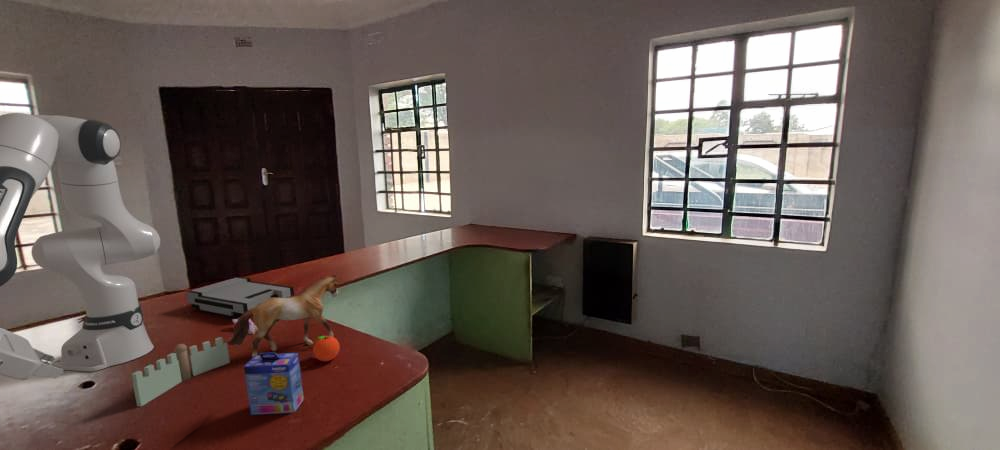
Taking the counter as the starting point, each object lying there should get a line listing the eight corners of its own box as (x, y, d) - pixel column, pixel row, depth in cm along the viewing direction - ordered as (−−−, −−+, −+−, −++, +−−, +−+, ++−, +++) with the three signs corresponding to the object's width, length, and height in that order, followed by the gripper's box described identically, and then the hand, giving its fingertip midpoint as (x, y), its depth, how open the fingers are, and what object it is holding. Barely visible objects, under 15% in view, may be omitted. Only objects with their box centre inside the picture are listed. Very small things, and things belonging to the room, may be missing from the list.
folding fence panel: (178, 381, 102) (173, 352, 100) (181, 381, 101) (177, 352, 100) (137, 406, 91) (131, 374, 90) (141, 406, 91) (135, 374, 90)
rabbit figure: (268, 336, 133) (245, 320, 140) (267, 320, 131) (244, 305, 139) (248, 343, 128) (226, 326, 135) (247, 327, 126) (225, 310, 134)
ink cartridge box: (248, 416, 88) (240, 356, 86) (261, 401, 94) (253, 344, 91) (294, 413, 89) (287, 353, 87) (304, 398, 94) (298, 342, 92)
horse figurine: (343, 332, 131) (337, 272, 127) (348, 341, 124) (342, 278, 121) (230, 360, 114) (220, 292, 110) (229, 372, 107) (219, 300, 104)
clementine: (305, 363, 111) (303, 339, 110) (324, 351, 118) (322, 329, 117) (328, 367, 109) (325, 343, 107) (345, 355, 115) (343, 332, 114)
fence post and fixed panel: (181, 382, 101) (175, 347, 100) (177, 379, 103) (171, 345, 101) (230, 364, 110) (226, 331, 109) (227, 361, 112) (222, 329, 110)
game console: (245, 323, 141) (242, 301, 140) (189, 312, 153) (186, 291, 152) (295, 303, 160) (292, 284, 158) (242, 294, 172) (239, 276, 171)
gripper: (-14, 337, 67) (80, 365, 76) (-23, 314, 78) (60, 341, 88) (-53, 373, 64) (50, 398, 73) (-55, 344, 75) (34, 369, 85)
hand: (55, 367), depth 81 cm, fingers open, 8 cm apart
